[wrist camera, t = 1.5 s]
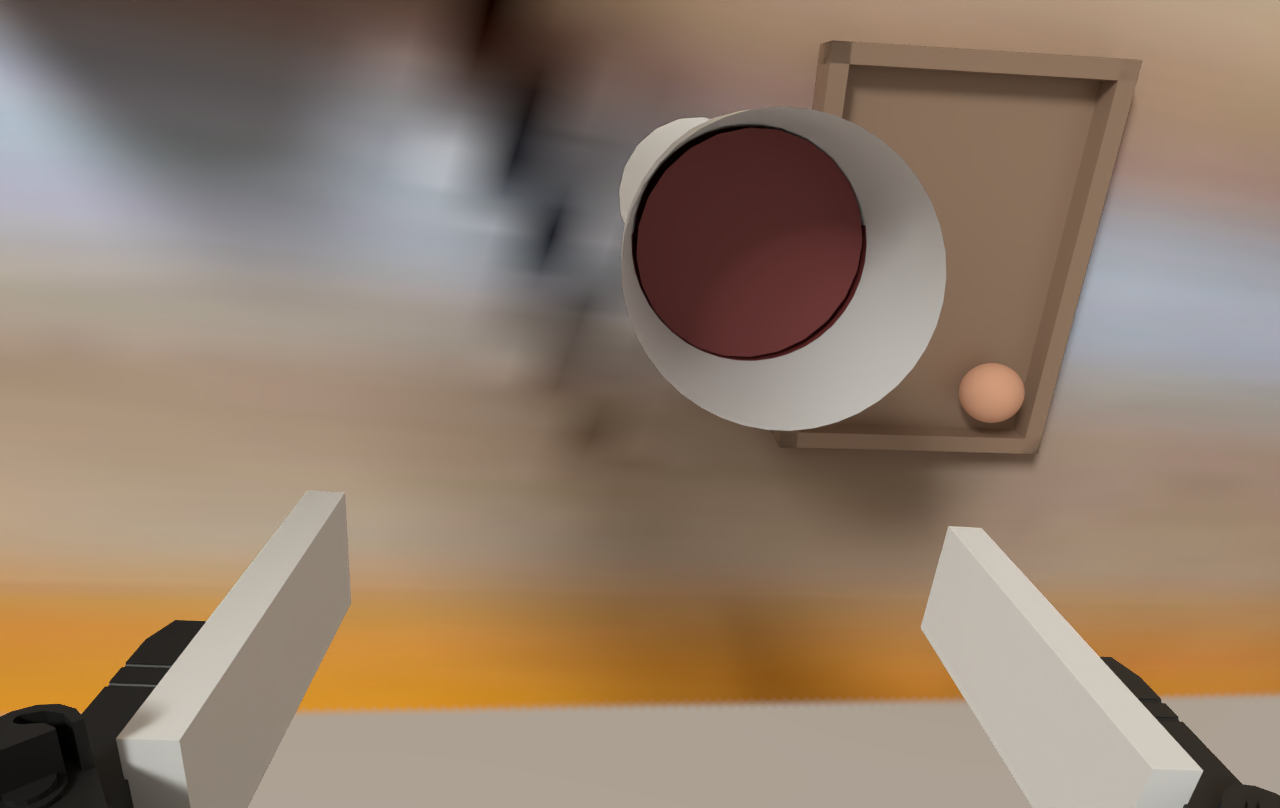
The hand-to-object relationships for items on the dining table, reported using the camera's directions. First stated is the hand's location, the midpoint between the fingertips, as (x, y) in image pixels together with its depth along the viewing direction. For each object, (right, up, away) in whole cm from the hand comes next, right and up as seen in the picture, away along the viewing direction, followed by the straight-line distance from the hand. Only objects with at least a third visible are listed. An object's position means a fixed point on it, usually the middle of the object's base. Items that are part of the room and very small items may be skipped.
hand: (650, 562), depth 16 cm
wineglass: (+3, +15, +25) cm, 29 cm away
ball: (+20, +5, +29) cm, 36 cm away
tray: (+17, +12, +27) cm, 34 cm away
